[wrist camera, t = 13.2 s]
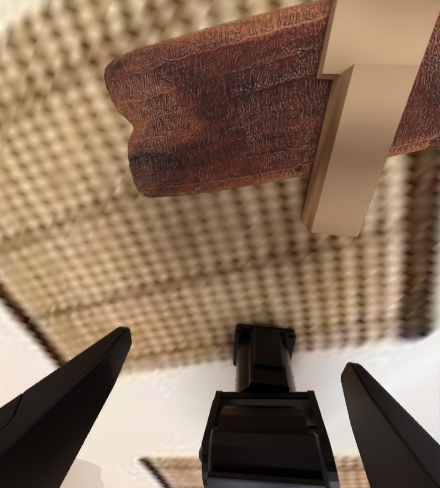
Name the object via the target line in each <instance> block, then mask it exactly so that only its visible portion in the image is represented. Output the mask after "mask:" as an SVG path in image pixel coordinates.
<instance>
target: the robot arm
mask: <svg viewBox="0 0 440 488" xmlns="http://www.w3.org/2000/svg"><path fill="white" fill-rule="evenodd" d="M239 329H241V330H239ZM295 339H296V334H295V332H294V331H293V330H285V329H276V328H266V327H257V326H247V325H237V326H236V328H235V343H234V359H233V364H234V365H235V366H237V369H236V387H235V392H223V391H216V394H215V398H214V400H213V403H212V406H211V410H210V414H209V418H208V421H207V425H206V429H205V432H204V436H203V440H202V445H201V447H200V450H199V459H200V461H201V463H202V479H203V485H204V488H340V484H339V479H338V474H337V469H336V465H335V460H334V456H333V452H332V449H331V445H330V441H329V438H328V435H327V431H326V428H325V425H324V422H323V419H322V416H321V412H320V409H319V406H318V403H317V400H316V397H315V393H314V391H307V392H296V388H295V383H294V377H293V372H292V367H291V361H290V360H291V356H292V351H293V347H294V343H295ZM131 344H132V339H131V332H130V329H129V328H128V327H122V326H121V327H118V328H116V329H115V330H114V331H112V332H111V333H109V334H108V335H106V336H105V337H103V338H102V339H100V340H99V341H98V342H96V343H95V344H93V345H92V346H90V347H89V348H87V349H86V350H84V351H83V352H81V353H80V354H79V355H77V356H76V357H74V358H73V359H71V360H70V361H68V362H67V363H65V364H64V365H62V366H61V367H60V368H58V369H57V370H55V371H54V372H52V373H51V374H49V375H48V376H46V377H45V378H43V379H42V380H41V381H39V382H38V383H36V384H35V385H33V386H32V387H30V388H29V389H27V390H26V391H25V392H24V393H23V394H20V395H19V396H17V397H16V398H14V399H13V400H11V401H10V402H8V403H7V404H5V405H4V406H2V407H1V408H0V488H60V486H61V484H62V482H63V480H64V478H65V477H66V475H67V473H68V471H69V469H70V467H71V465H72V464H73V462H74V460H75V458H76V456H77V454H78V452H79V450H80V449H81V447H82V445H83V443H84V441H85V439H86V437H87V435H88V434H89V432H90V430H91V428H92V426H93V424H94V422H95V421H96V419H97V417H98V415H99V413H100V411H101V409H102V407H103V406H104V404H105V402H106V400H107V398H108V396H109V394H110V392H111V391H112V389H113V387H114V385H115V383H116V380H117V378H118V376H119V373H120V371H121V369H122V366H123V364H124V361H125V359H126V357H127V354H128V352H129V350H130V347H131ZM341 383H342V387H343V392H344V397H345V401H346V406H347V410H348V415H349V419H350V423H351V427H352V430H353V434H354V437H355V440H356V443H357V446H358V449H359V453H360V456H361V459H362V462H363V465H364V468H365V471H366V475H367V478H368V481H369V484H370V487H371V488H440V445H439V444H438V443H437V442H436V441H435V440H434V439H433V438H432V436H431V435H430V434H429V433H428V432H427V431H426V430H425V429H424V428H423V427H422V426H421V425H420V424H419V423H418V422H417V421H416V420H415V419H414V418H413V417H412V416H411V415H410V414H409V413H408V412H407V411H406V410H405V409H404V408H403V407H402V406H401V405H400V404H399V403H398V402H397V401H396V400H395V399H394V398H393V397H392V396H391V395H390V394H389V393H388V392H387V391H386V390H385V389H384V388H383V387H382V386H381V385H380V384H379V383H378V382H377V381H376V380H375V379H374V378H373V377H372V376H371V375H370V374H369V373H368V372H367V371H366V370H365V369H364V368H363V367H362V366H361V365H360V364H358V363H352V362H348V363H347V364H346V366H345V368H344V370H343V372H342V375H341Z"/></svg>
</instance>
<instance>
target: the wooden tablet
mask: <svg viewBox="0 0 440 488" xmlns="http://www.w3.org/2000/svg"><path fill="white" fill-rule="evenodd" d="M331 3H332V0H318V1H314V2H309V3H304V4H299V5H295V6H291V7H287V8H284V9H280V10H276V11H271V12H268V13H265V14H259V15H255V16H252V17H248V18H244V19H239V20H235V21H231V22H228V23H224V24H221V25H218V26H214V27H210V28H205V29H202V30H199V31H196V32H194V33H190V34H187V35H183V36H180V37H178V38H172V39H169V40H166V41H163V42H159V43H156V44H154V45H148V46H145V47H143V48H141V49H136V50H134V51H131V52H128V53H126V54H124V55H122V56H120V57H118V58H116V59H114V60H113V61H112V62H110V63H109V64H108V65H107V67H106V68H105V74H104V77H105V83H106V87H107V90H108V92H109V94H110V96H111V99H112V102H113V103H114V105H115V108H116V109H117V110H118V112H119V113H120V114H121V115H123V116H124V117H125V118H126V119H127V120H128V121H129V122H130V123H131V124H132V125H133V132H132V134H131V136H130V139H129V142H128V159H129V166H130V169H131V173H132V177H133V180H134V183H135V185H136V187H137V189H138V190H139V192H141V193H142V194H143V195H144V196H147V197H166V196H182V195H190V194H197V193H204V192H213V191H219V190H226V189H233V188H238V187H244V186H249V185H255V184H261V183H267V182H273V181H277V180H282V179H286V178H291V177H296V176H301V175H305V174H310V173H312V170H313V165H314V161H315V156H316V152H317V148H318V143H319V139H320V134H321V130H322V126H323V121H324V117H325V113H326V108H327V104H328V99H329V95H330V91H331V86H332V82H333V80H330V79H316V78H317V73H318V68H319V63H320V58H321V53H322V48H323V43H324V38H325V33H326V28H327V23H328V18H329V13H330V8H331ZM439 145H440V12H439V15H438V18H437V20H436V23H435V26H434V29H433V31H432V34H431V37H430V40H429V42H428V45H427V48H426V51H425V53H424V56H423V59H422V62H421V64H420V67H419V70H418V73H417V76H416V78H415V81H414V84H413V87H412V89H411V92H410V95H409V98H408V100H407V103H406V106H405V109H404V111H403V114H402V117H401V120H400V122H399V125H398V128H397V131H396V133H395V136H394V139H393V142H392V144H391V147H390V150H389V153H388V155H387V157H391V156H395V155H399V154H404V153H409V152H414V151H418V150H423V149H424V148H426V147H428V146H435V147H436V146H439Z"/></svg>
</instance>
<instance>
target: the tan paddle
mask: <svg viewBox="0 0 440 488" xmlns="http://www.w3.org/2000/svg"><path fill="white" fill-rule="evenodd" d="M439 12H440V0H332V3H331V8H330V13H329V18H328V23H327V28H326V33H325V38H324V43H323V48H322V53H321V58H320V63H319V68H318V73H317V78H316V79H330V80H333V82H332V86H331V91H330V95H329V99H328V104H327V108H326V113H325V117H324V121H323V126H322V130H321V134H320V139H319V143H318V148H317V152H316V156H315V161H314V165H313V170H312V174H311V178H310V183H309V187H308V191H307V196H306V200H305V205H304V209H303V213H302V218H301V219H302V220H303V222H304V223H305V225H306V226H307V227H308V229H309V230H310V232H311V233H319V234H330V235H341V236H352V237H358V235H359V232H360V230H361V227H362V224H363V221H364V219H365V216H366V213H367V210H368V208H369V205H370V202H371V199H372V197H373V194H374V191H375V188H376V186H377V183H378V180H379V177H380V175H381V172H382V169H383V166H384V164H385V161H386V158H387V155H388V153H389V150H390V147H391V144H392V142H393V139H394V136H395V133H396V131H397V128H398V125H399V122H400V120H401V117H402V114H403V111H404V109H405V106H406V103H407V100H408V98H409V95H410V92H411V89H412V87H413V84H414V81H415V78H416V76H417V73H418V70H419V67H420V64H421V62H422V59H423V56H424V53H425V51H426V48H427V45H428V42H429V40H430V37H431V34H432V31H433V29H434V26H435V23H436V20H437V18H438V15H439Z"/></svg>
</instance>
